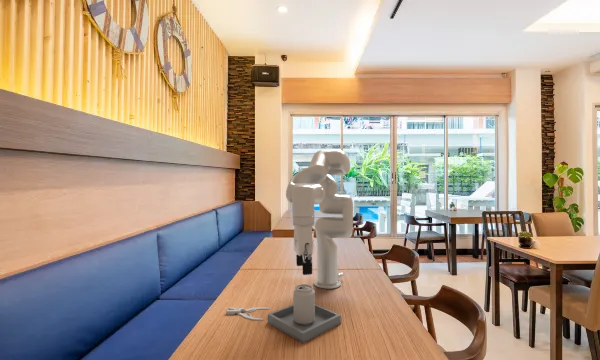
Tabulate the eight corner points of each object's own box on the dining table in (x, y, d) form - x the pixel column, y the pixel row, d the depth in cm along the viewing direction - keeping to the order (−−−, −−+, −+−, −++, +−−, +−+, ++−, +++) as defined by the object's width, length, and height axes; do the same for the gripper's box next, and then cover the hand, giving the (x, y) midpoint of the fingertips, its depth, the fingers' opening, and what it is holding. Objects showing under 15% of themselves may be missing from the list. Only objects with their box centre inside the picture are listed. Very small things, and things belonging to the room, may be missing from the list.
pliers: (262, 317, 108) (222, 314, 110) (262, 321, 108) (222, 319, 110) (269, 305, 118) (231, 303, 120) (269, 309, 118) (232, 307, 120)
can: (304, 314, 111) (304, 281, 111) (319, 321, 106) (319, 286, 106) (289, 321, 106) (288, 286, 106) (304, 328, 101) (304, 292, 101)
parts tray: (305, 307, 119) (305, 299, 118) (340, 323, 105) (340, 314, 105) (267, 322, 106) (267, 314, 106) (302, 343, 93) (302, 333, 93)
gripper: (288, 217, 113) (288, 263, 114) (298, 225, 96) (298, 279, 97) (307, 216, 115) (308, 261, 115) (320, 224, 98) (321, 277, 98)
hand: (304, 269), depth 106 cm, fingers open, 9 cm apart
